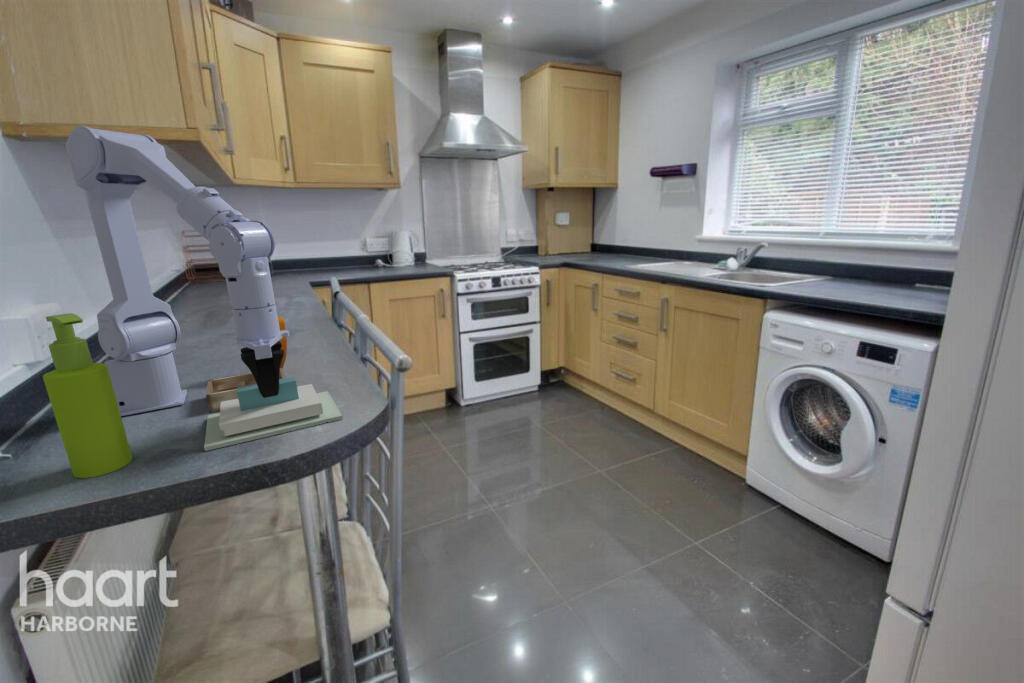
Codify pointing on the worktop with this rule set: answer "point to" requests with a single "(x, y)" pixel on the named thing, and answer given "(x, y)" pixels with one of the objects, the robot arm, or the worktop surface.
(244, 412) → the lid
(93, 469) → the soap dispenser
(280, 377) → the storage box
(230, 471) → the worktop surface
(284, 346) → the carrot
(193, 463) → the worktop surface
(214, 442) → the mat
